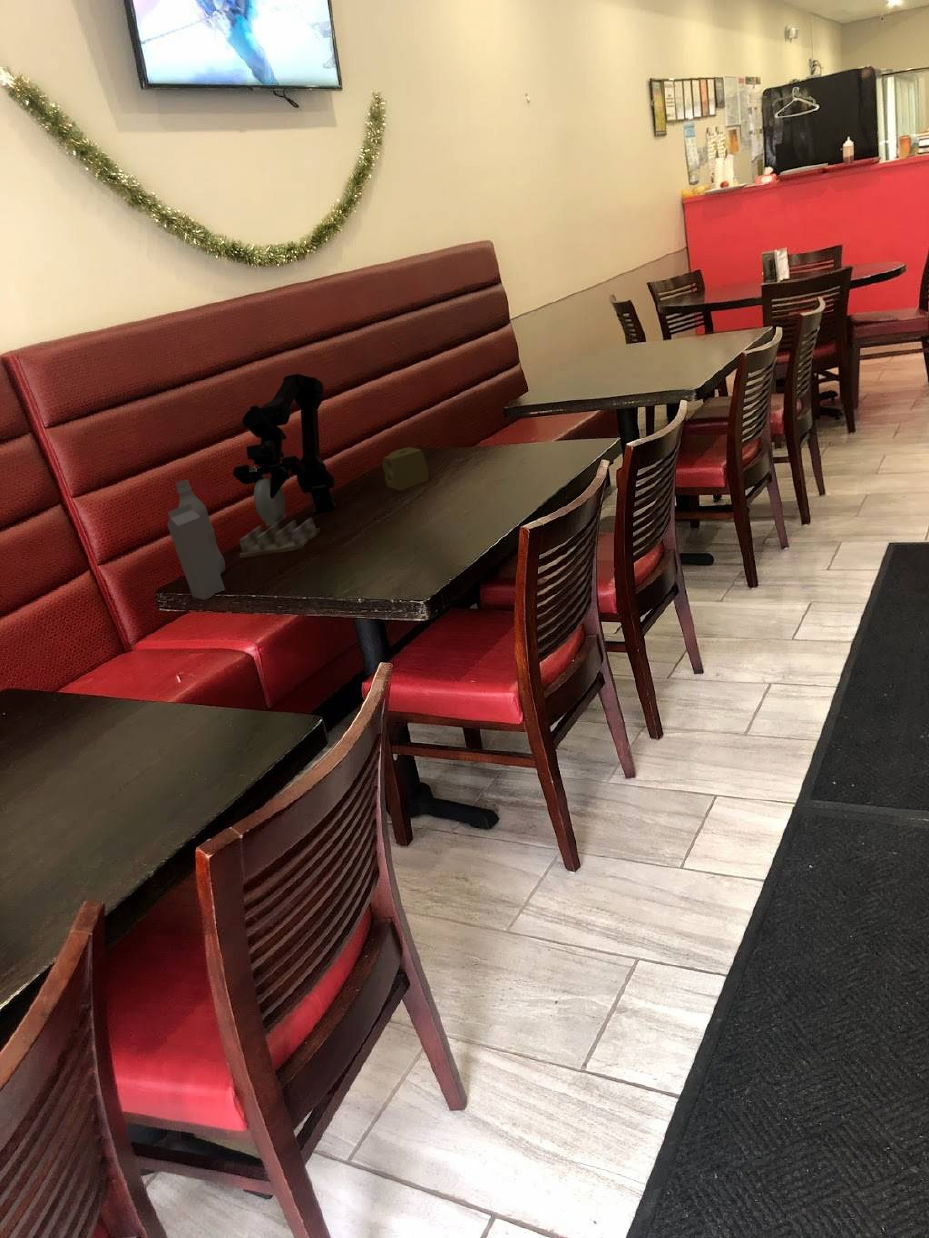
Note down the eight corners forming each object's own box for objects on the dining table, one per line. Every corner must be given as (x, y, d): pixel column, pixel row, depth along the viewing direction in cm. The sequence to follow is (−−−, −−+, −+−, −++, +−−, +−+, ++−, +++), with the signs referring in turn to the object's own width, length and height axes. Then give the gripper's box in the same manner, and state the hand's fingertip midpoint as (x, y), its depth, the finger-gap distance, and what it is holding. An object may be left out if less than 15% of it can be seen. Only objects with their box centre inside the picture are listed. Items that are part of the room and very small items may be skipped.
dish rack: (263, 540, 275) (258, 524, 274) (320, 531, 269) (316, 515, 268) (240, 558, 263) (234, 542, 261) (299, 549, 257) (294, 533, 255)
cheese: (387, 487, 300) (378, 455, 297) (419, 476, 304) (410, 445, 300) (398, 492, 291) (390, 459, 287) (431, 481, 294) (423, 448, 291)
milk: (225, 591, 238) (196, 503, 230) (204, 600, 235) (173, 512, 227) (213, 588, 242) (184, 502, 235) (192, 597, 239) (162, 511, 231)
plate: (280, 514, 269) (267, 474, 265) (289, 513, 268) (276, 472, 264) (262, 529, 259) (248, 487, 255) (271, 527, 258) (258, 485, 254)
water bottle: (220, 578, 249) (187, 483, 241) (195, 582, 251) (162, 488, 242) (232, 567, 256) (200, 475, 247) (207, 571, 258) (175, 480, 249)
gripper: (224, 437, 261) (218, 490, 256) (287, 425, 256) (282, 478, 250) (246, 458, 271) (241, 509, 265) (307, 446, 265) (303, 498, 260)
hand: (266, 498), depth 260 cm, fingers closed on plate, 3 cm apart
